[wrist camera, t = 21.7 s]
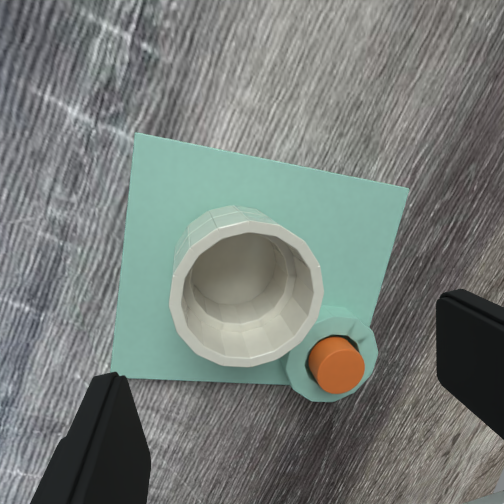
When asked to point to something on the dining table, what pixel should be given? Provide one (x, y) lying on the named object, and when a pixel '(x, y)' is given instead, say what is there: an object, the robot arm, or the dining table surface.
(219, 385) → the dining table surface
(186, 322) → the white cup
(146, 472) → the robot arm
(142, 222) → the scale
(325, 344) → the power button
